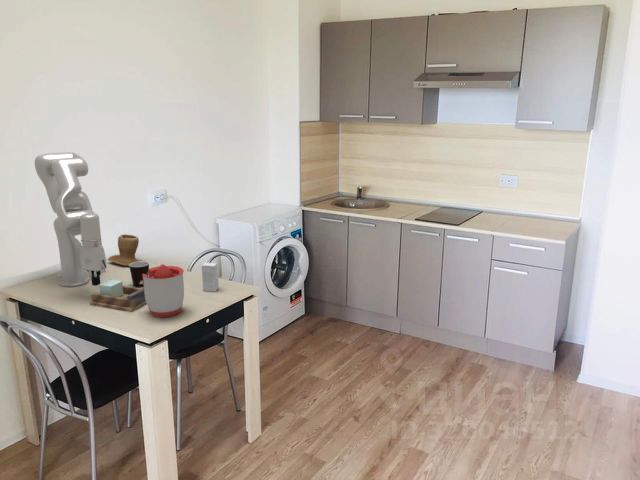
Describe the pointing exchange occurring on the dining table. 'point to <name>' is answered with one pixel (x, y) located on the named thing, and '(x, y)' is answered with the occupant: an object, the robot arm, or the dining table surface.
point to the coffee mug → (138, 272)
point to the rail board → (121, 299)
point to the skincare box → (210, 276)
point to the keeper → (111, 288)
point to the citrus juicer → (164, 290)
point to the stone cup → (126, 250)
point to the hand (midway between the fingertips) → (96, 284)
